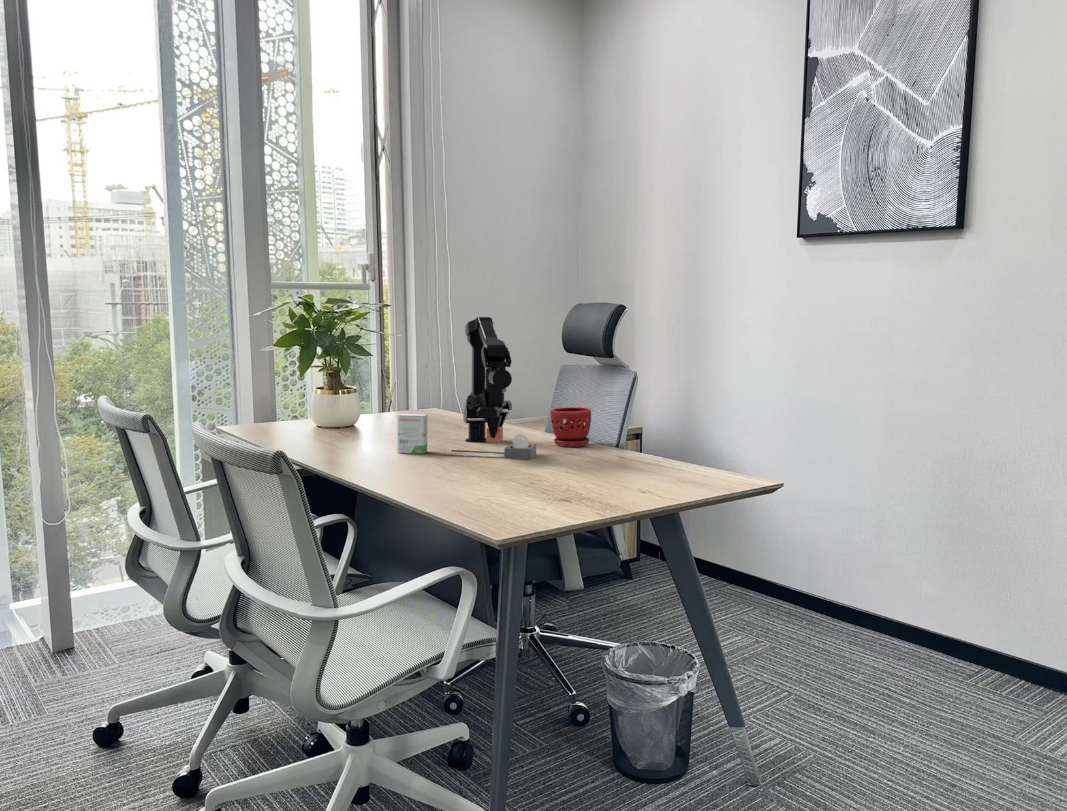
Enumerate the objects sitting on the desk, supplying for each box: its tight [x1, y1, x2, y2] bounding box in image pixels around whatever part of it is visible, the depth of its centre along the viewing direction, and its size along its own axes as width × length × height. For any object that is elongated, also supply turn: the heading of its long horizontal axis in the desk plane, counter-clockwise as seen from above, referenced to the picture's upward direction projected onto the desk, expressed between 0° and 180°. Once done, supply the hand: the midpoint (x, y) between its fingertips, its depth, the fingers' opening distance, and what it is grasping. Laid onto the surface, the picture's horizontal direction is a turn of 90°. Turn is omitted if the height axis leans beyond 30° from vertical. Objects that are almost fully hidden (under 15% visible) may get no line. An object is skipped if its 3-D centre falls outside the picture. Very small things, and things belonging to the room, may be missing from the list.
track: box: [443, 449, 504, 459], centre depth 263 cm, size 9×18×1 cm, turn 77°
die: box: [486, 426, 504, 443], centre depth 261 cm, size 4×4×4 cm
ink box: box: [396, 413, 429, 455], centre depth 266 cm, size 9×5×12 cm, turn 84°
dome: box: [512, 433, 530, 449], centre depth 260 cm, size 5×5×6 cm
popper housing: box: [503, 443, 537, 460], centre depth 260 cm, size 8×8×3 cm
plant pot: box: [550, 406, 592, 448], centre depth 281 cm, size 13×13×12 cm
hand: (494, 436), depth 262 cm, fingers closed on die, 4 cm apart
